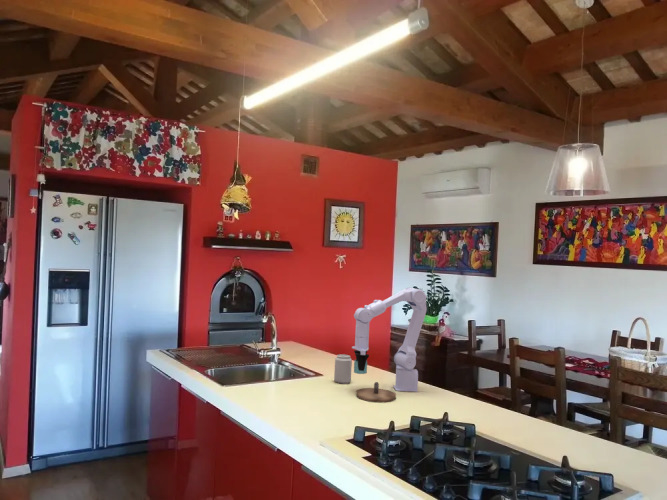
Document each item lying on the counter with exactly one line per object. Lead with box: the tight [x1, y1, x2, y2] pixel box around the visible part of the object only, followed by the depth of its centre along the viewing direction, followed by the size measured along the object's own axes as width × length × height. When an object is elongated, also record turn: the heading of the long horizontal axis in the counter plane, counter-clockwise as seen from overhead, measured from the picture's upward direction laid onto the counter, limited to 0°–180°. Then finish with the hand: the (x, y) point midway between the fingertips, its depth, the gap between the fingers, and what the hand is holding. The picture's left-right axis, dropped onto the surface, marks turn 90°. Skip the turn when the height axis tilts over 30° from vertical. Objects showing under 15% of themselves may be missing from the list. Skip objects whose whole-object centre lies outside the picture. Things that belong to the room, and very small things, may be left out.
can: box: [333, 354, 353, 385], centre depth 240 cm, size 8×8×12 cm
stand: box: [355, 381, 397, 403], centre depth 218 cm, size 16×16×6 cm
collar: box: [353, 358, 368, 375], centre depth 226 cm, size 5×5×5 cm
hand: (360, 368), depth 226 cm, fingers closed on collar, 5 cm apart
